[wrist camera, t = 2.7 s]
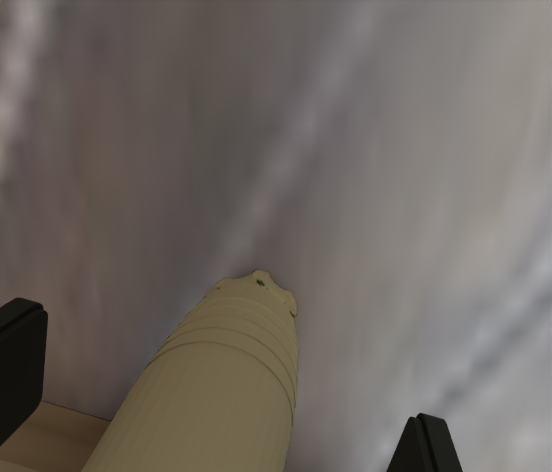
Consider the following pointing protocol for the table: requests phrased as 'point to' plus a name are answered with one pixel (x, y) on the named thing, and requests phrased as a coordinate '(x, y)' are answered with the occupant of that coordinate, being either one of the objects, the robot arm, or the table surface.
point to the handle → (213, 389)
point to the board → (52, 441)
